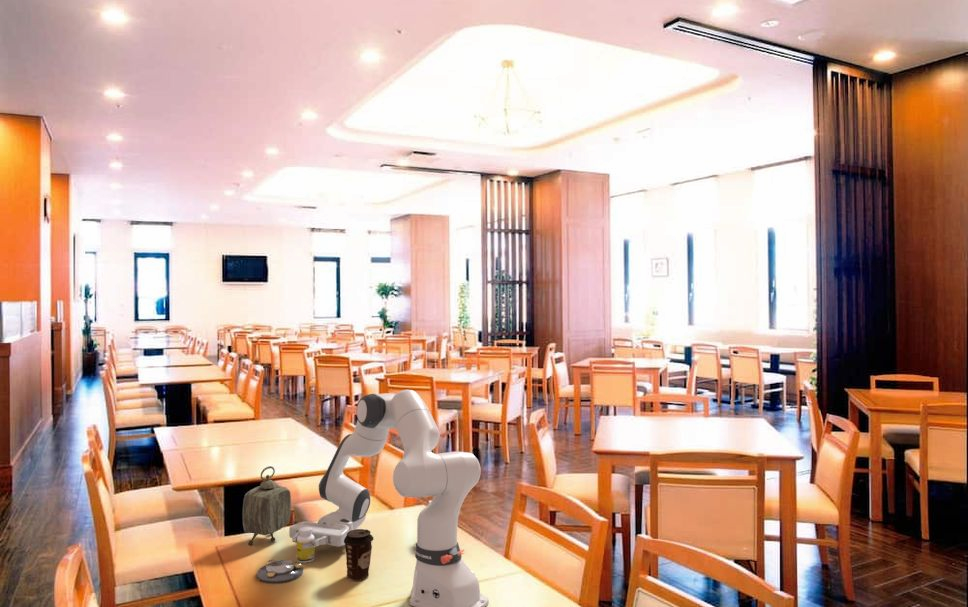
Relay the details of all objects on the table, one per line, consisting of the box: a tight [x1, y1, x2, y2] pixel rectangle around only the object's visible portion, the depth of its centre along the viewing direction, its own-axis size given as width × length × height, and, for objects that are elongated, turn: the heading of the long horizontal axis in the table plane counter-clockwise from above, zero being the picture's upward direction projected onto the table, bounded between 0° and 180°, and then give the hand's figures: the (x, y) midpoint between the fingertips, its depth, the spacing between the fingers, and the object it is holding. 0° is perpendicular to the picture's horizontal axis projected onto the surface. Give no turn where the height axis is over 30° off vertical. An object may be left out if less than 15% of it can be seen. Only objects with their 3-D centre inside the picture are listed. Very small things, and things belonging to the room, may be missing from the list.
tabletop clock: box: [242, 466, 292, 546], centre depth 222 cm, size 14×9×25 cm, turn 160°
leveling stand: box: [256, 559, 304, 584], centre depth 196 cm, size 13×13×3 cm
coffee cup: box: [344, 528, 374, 582], centre depth 195 cm, size 9×8×13 cm
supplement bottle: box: [296, 527, 315, 564], centre depth 207 cm, size 5×5×10 cm
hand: (303, 541), depth 206 cm, fingers open, 6 cm apart
